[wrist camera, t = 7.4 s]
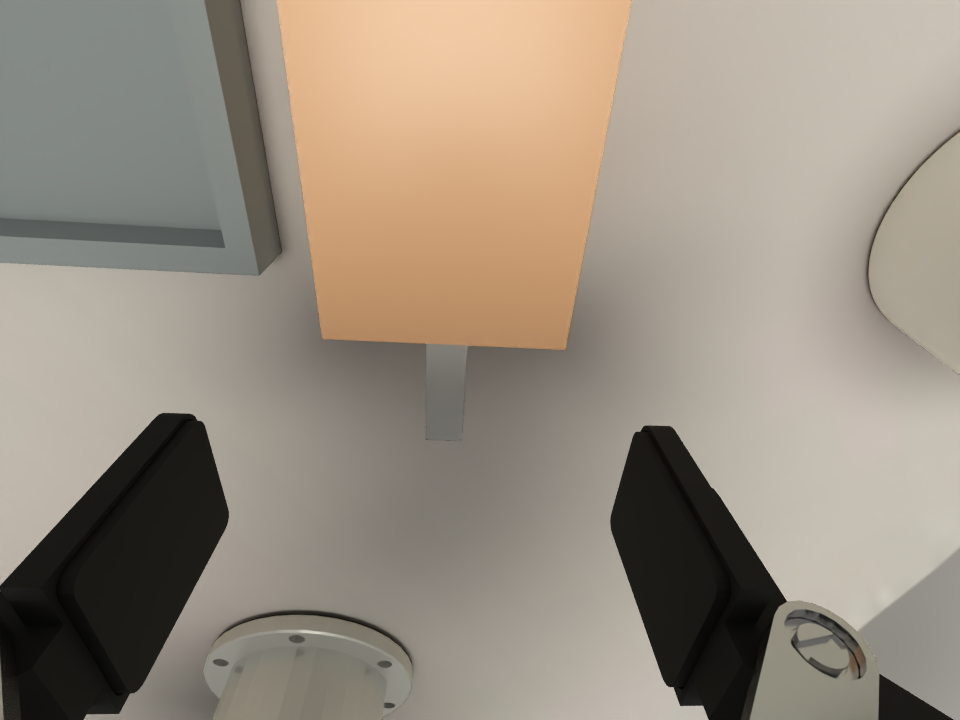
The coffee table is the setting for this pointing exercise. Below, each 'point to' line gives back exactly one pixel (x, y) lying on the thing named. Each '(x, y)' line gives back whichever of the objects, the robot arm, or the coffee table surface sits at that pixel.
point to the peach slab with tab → (449, 169)
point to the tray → (132, 138)
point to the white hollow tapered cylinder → (923, 257)
